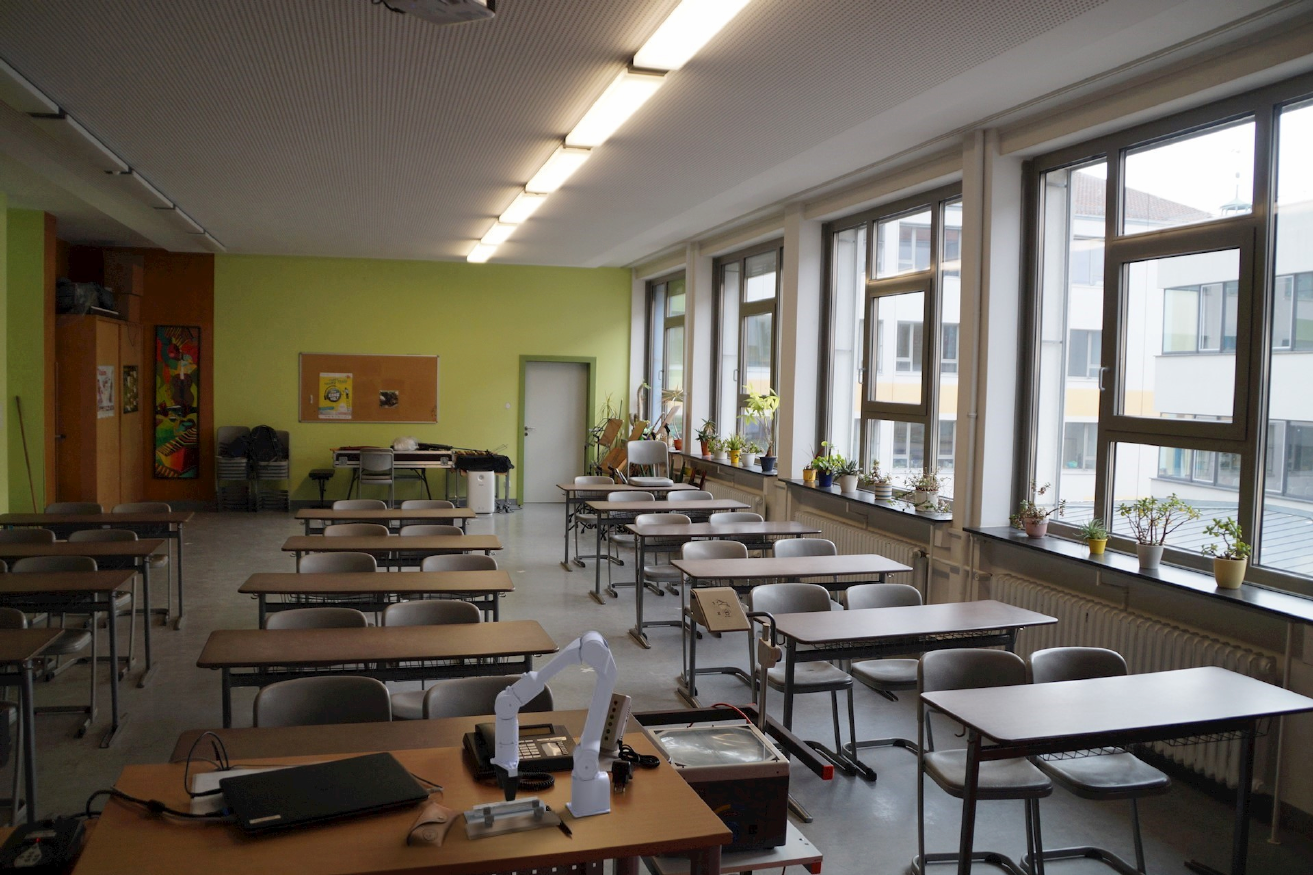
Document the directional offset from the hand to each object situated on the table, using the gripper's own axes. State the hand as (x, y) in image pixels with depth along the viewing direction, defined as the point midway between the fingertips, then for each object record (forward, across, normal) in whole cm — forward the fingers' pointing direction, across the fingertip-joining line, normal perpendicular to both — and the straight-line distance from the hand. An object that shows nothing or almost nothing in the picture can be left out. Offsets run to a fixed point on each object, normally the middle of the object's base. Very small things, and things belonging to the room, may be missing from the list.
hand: (506, 794), depth 223 cm
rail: (+4, 0, 0) cm, 4 cm away
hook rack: (+5, +8, 0) cm, 9 cm away
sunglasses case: (+5, +3, -18) cm, 19 cm away
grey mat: (+5, 0, 0) cm, 5 cm away
